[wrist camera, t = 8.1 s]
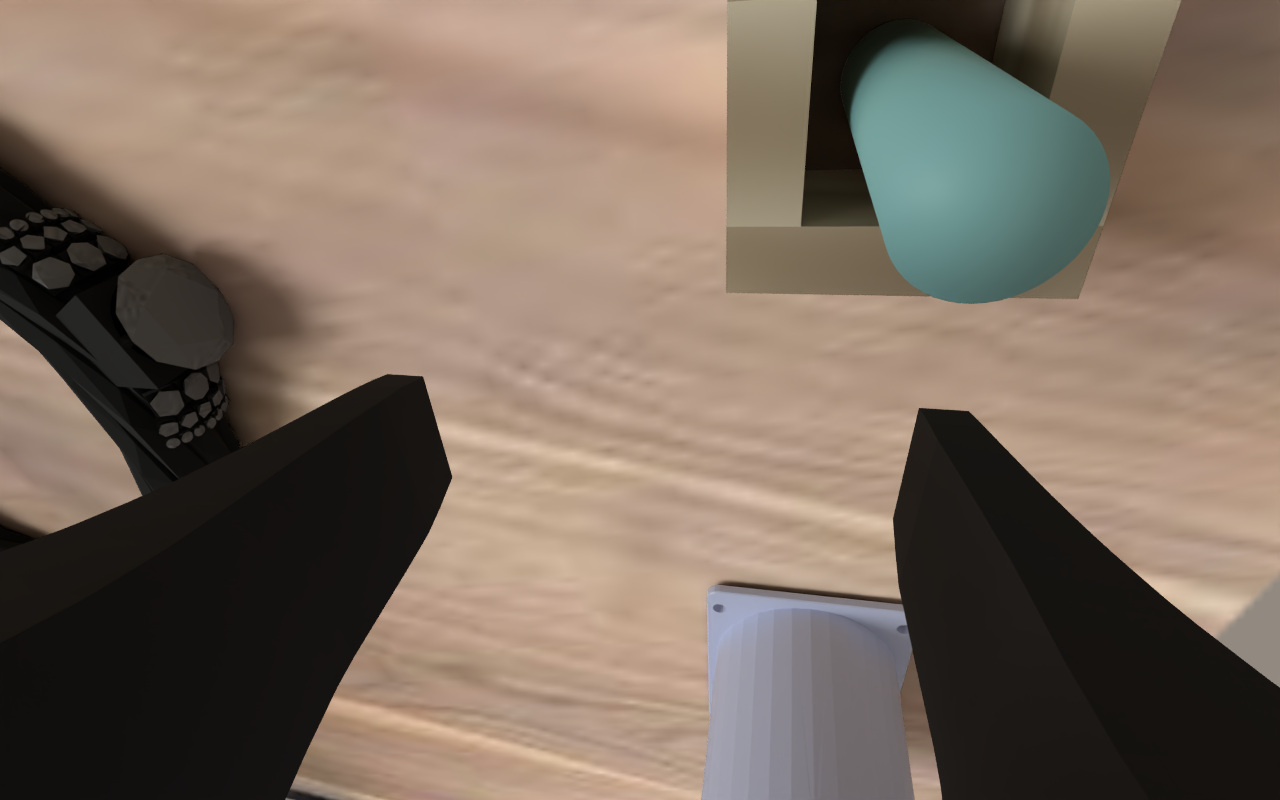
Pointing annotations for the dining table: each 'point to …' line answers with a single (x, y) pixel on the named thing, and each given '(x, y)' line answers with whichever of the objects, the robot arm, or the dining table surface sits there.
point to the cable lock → (119, 337)
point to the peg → (968, 166)
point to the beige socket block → (839, 199)
